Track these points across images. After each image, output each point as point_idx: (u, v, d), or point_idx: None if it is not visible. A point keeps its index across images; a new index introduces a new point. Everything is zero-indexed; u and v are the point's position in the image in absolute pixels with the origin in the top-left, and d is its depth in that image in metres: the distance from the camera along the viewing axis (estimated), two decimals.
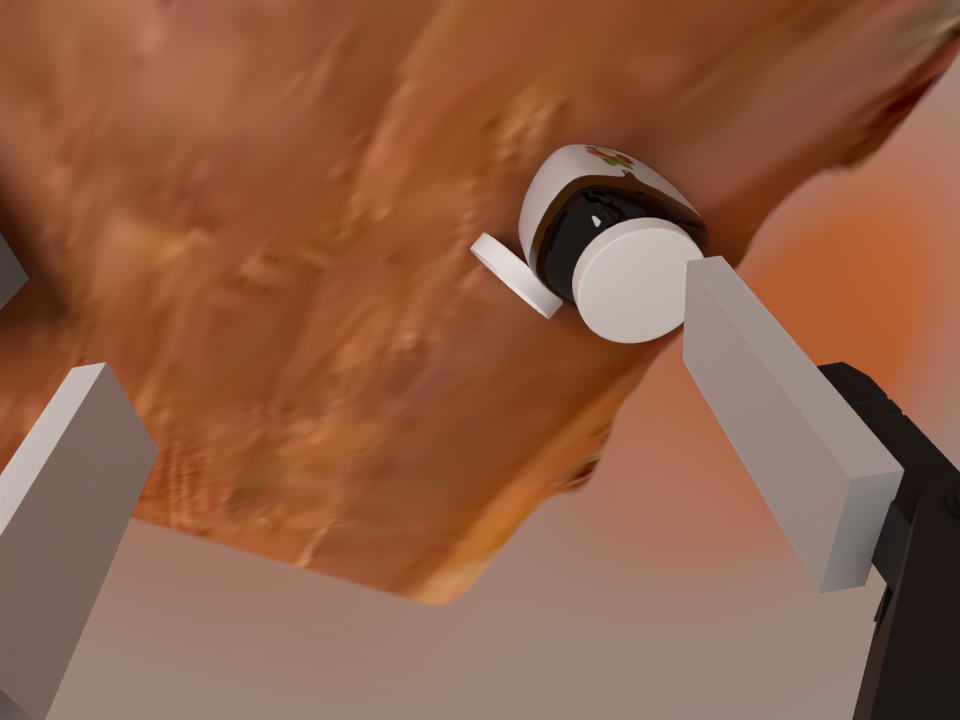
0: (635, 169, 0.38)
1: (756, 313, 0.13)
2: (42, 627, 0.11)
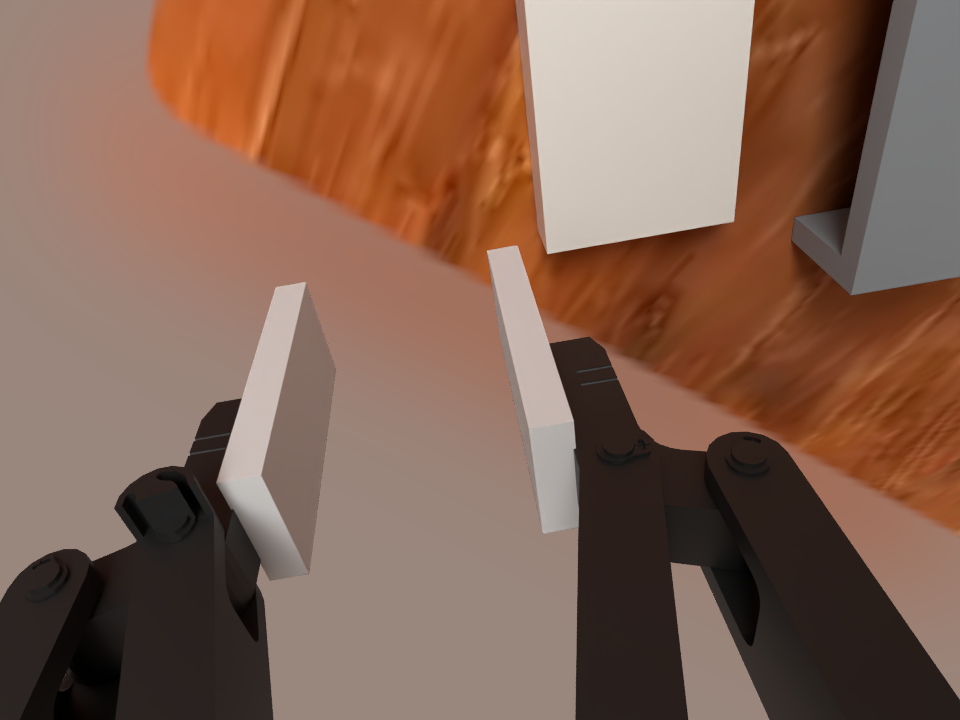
0: None
1: (521, 295, 0.14)
2: (301, 492, 0.13)
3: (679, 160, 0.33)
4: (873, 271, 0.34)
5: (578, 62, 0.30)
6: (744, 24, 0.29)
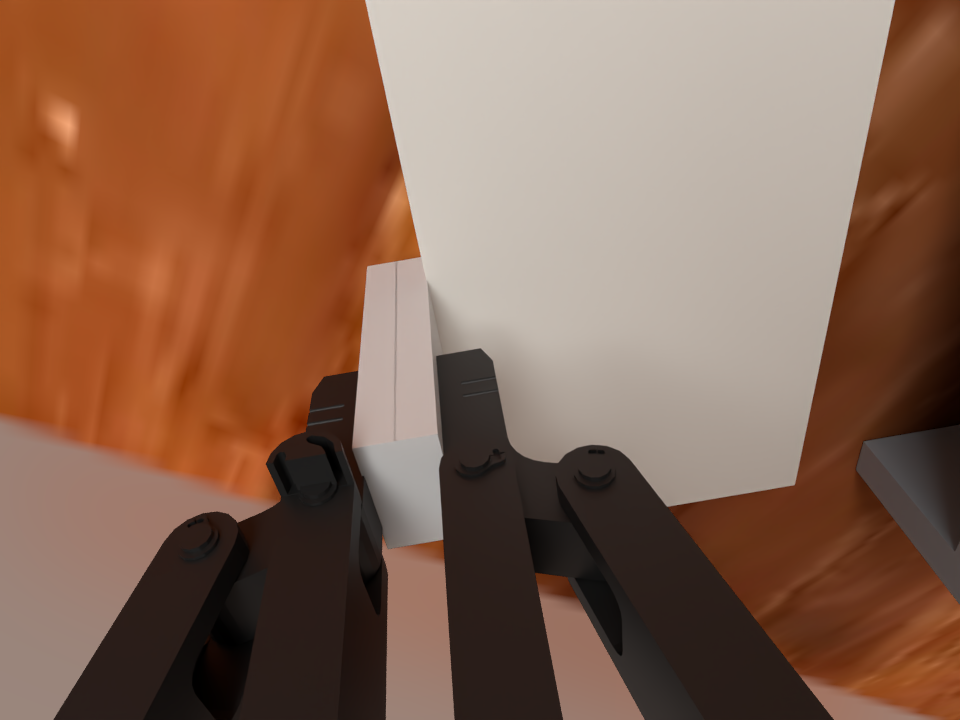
0: None
1: (418, 306, 0.14)
2: None
3: (706, 409, 0.19)
4: None
5: (518, 272, 0.15)
6: (837, 202, 0.15)
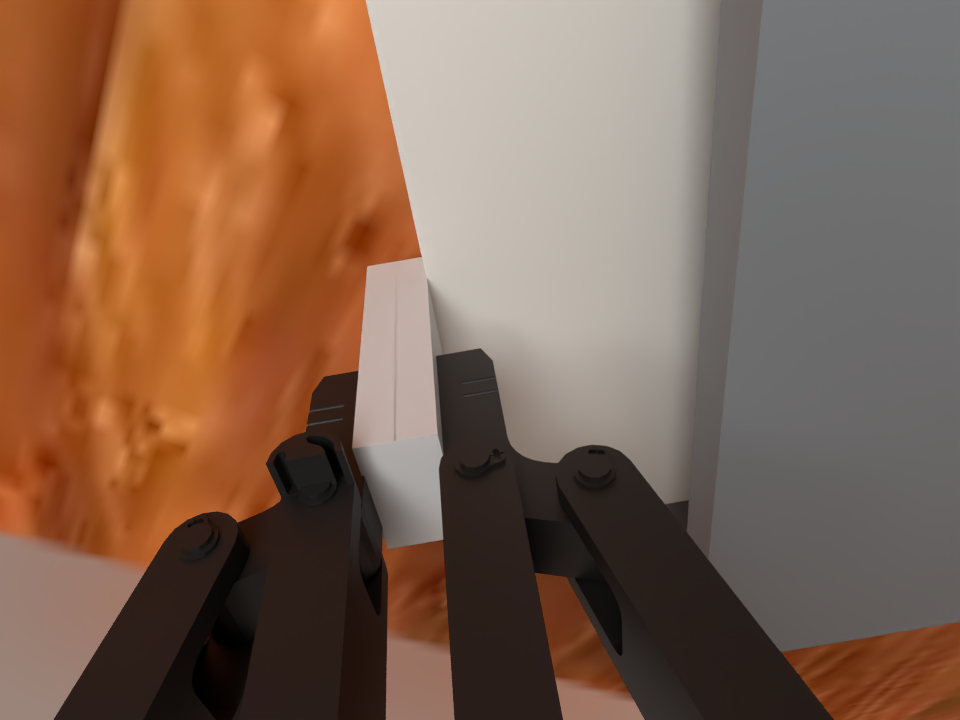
0: None
1: (418, 306, 0.14)
2: None
3: None
4: None
5: (518, 269, 0.16)
6: None
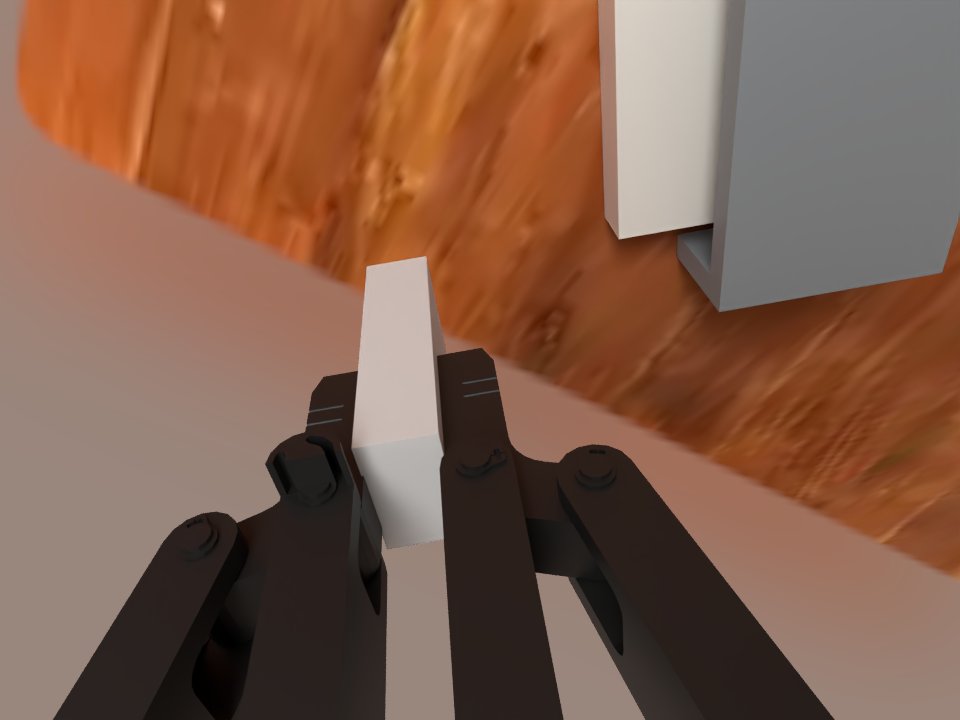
0: None
1: (418, 306, 0.14)
2: None
3: None
4: (738, 289, 0.34)
5: (661, 50, 0.30)
6: None
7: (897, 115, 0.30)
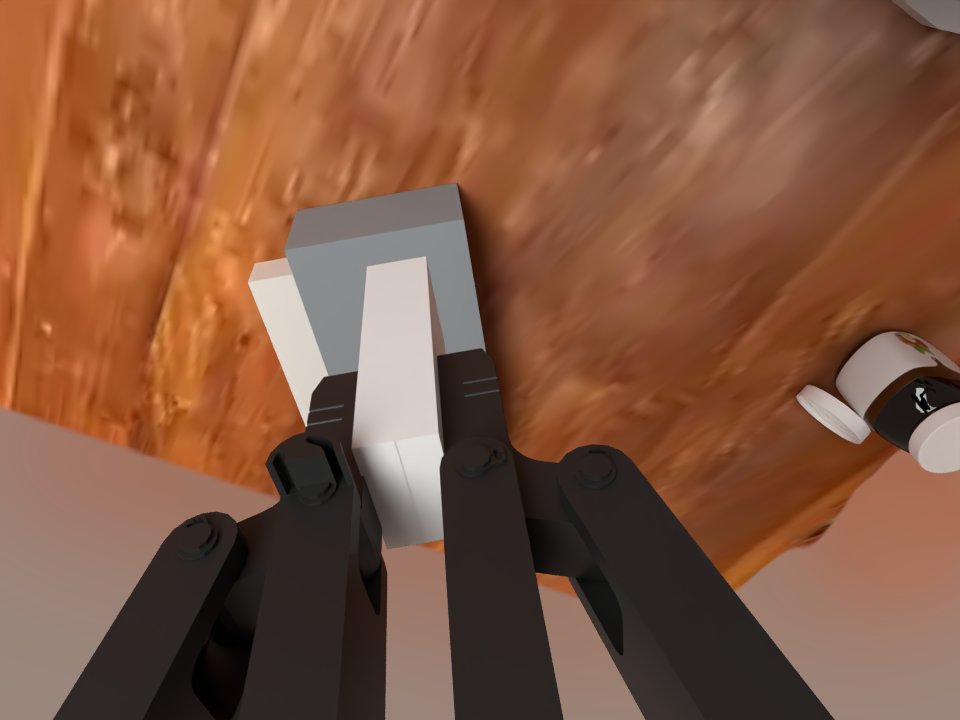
0: (934, 353, 0.58)
1: (418, 306, 0.14)
2: None
3: None
4: None
5: (304, 351, 0.53)
6: None
7: None
